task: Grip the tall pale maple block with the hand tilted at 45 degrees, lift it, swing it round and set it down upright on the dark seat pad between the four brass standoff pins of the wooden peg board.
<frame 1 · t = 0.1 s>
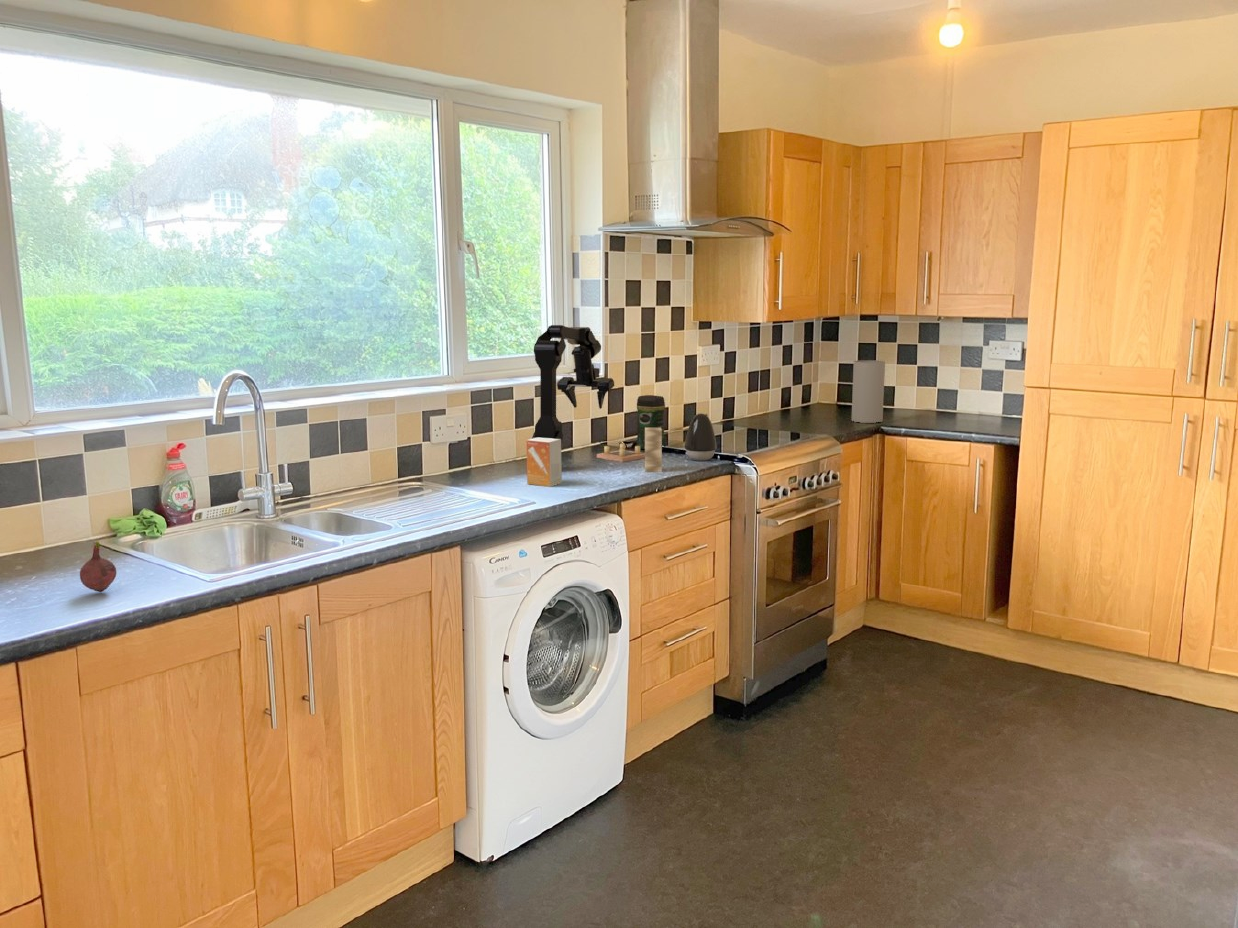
hand: (588, 407, 329), 15 cm above the countertop, tool pointing down, fingers open, 9 cm apart
maple block: (653, 470, 299), on the countertop
vegetable: (100, 594, 181), on the countertop
wooden peg board: (622, 457, 322), on the countertop
small box: (544, 484, 280), on the countertop
coffee jar: (650, 448, 341), on the countertop
cylinder vase: (866, 422, 403), on the countertop
dark egg shaped diffuser: (700, 460, 318), on the countertop
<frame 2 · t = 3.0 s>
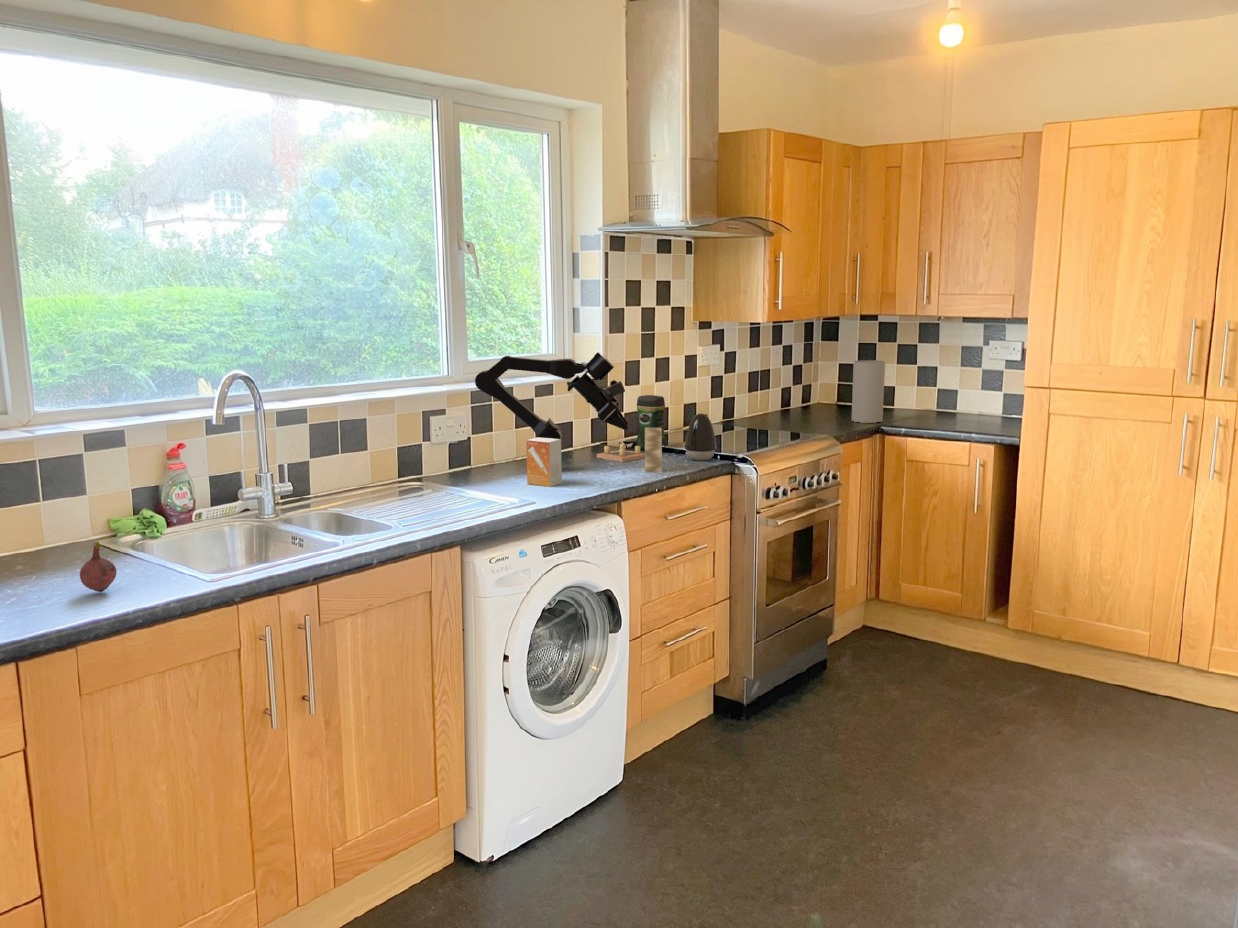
hand: (627, 427, 297), 14 cm above the countertop, tool tilted 45°, fingers open, 9 cm apart
nothing on the countertop moved.
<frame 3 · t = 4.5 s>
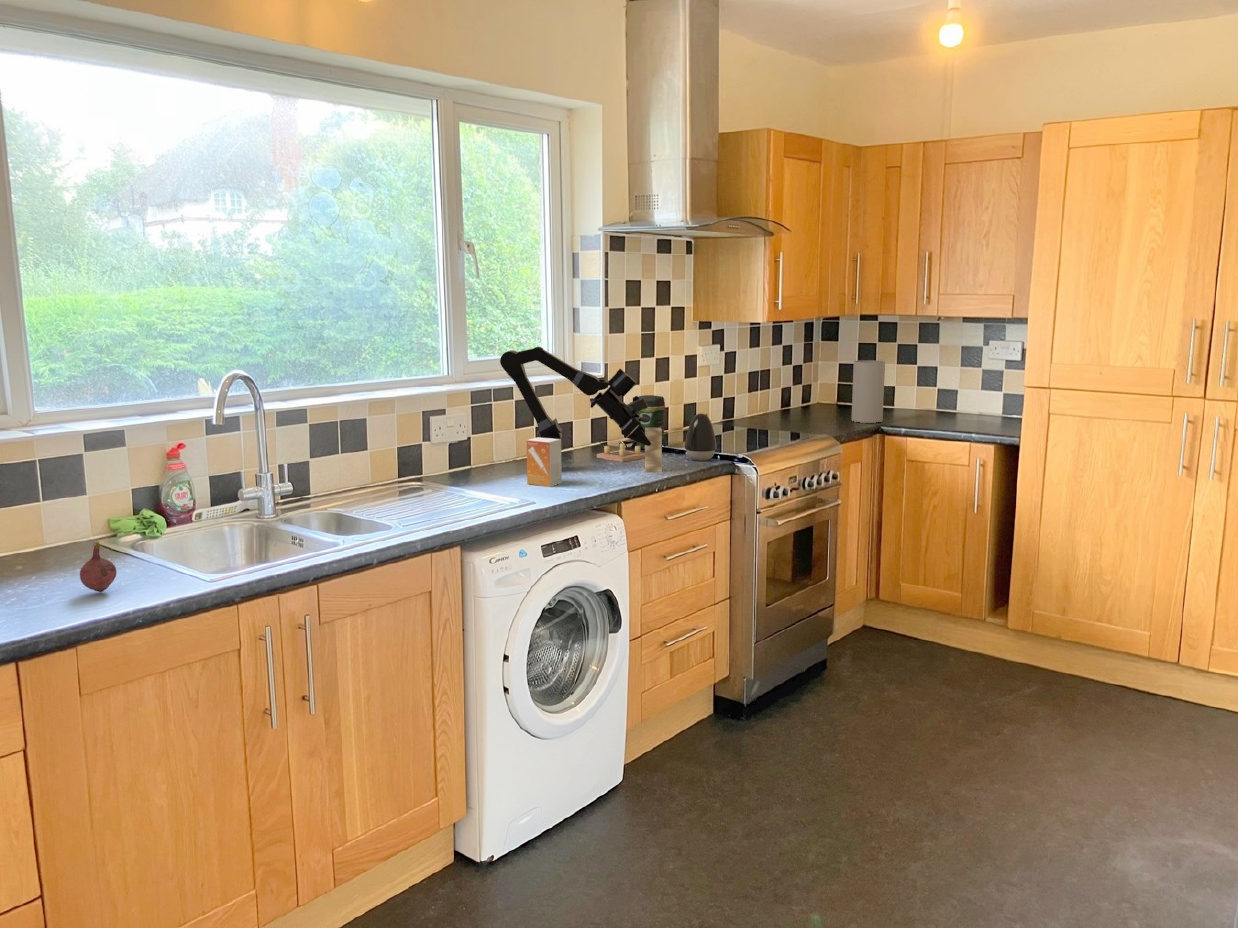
hand: (649, 442, 298), 9 cm above the countertop, tool tilted 45°, fingers open, 9 cm apart
nothing on the countertop moved.
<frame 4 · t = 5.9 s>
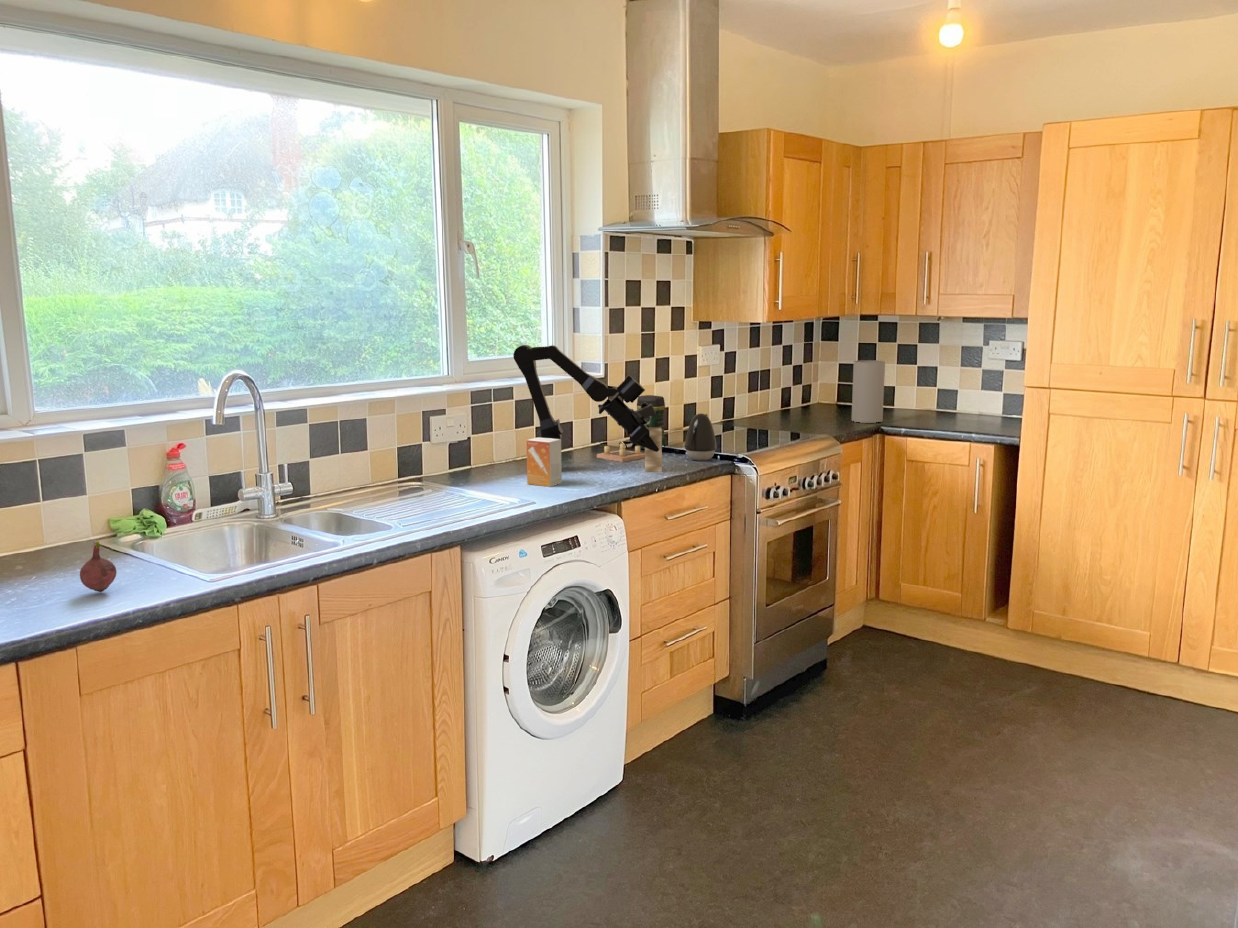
hand: (657, 449, 298), 7 cm above the countertop, tool tilted 45°, fingers closed on maple block, 5 cm apart
maple block: (653, 470, 299), on the countertop, touching gripper
everything else where it was.
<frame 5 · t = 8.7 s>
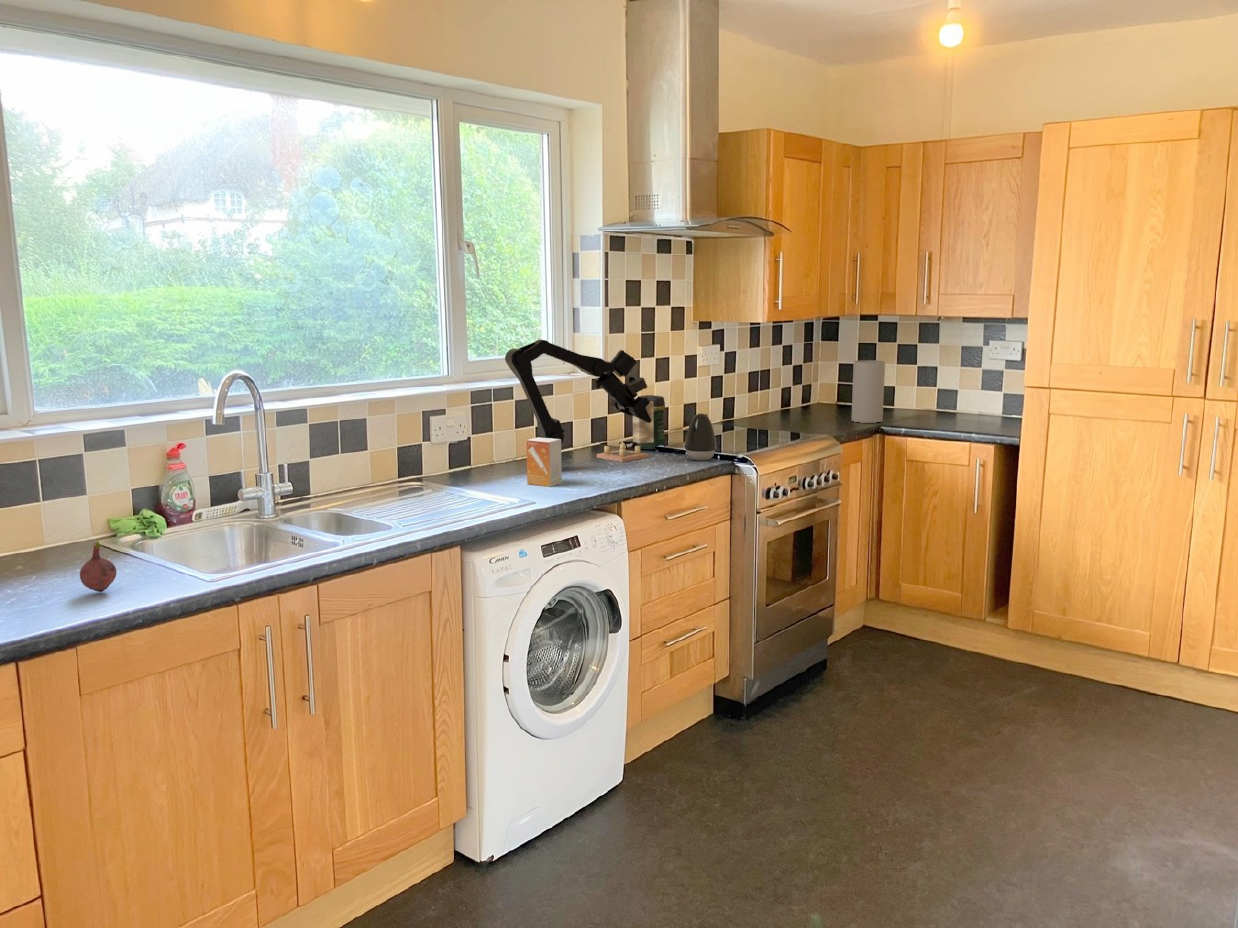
hand: (646, 420, 311), 13 cm above the countertop, tool tilted 45°, fingers closed on maple block, 5 cm apart
maple block: (643, 441, 311), point 7 cm above the countertop, touching gripper
everything else where it was.
when the fingers open (9 cm above the countertop, at t = 11.4 s): maple block drops 1 cm, resting on wooden peg board.
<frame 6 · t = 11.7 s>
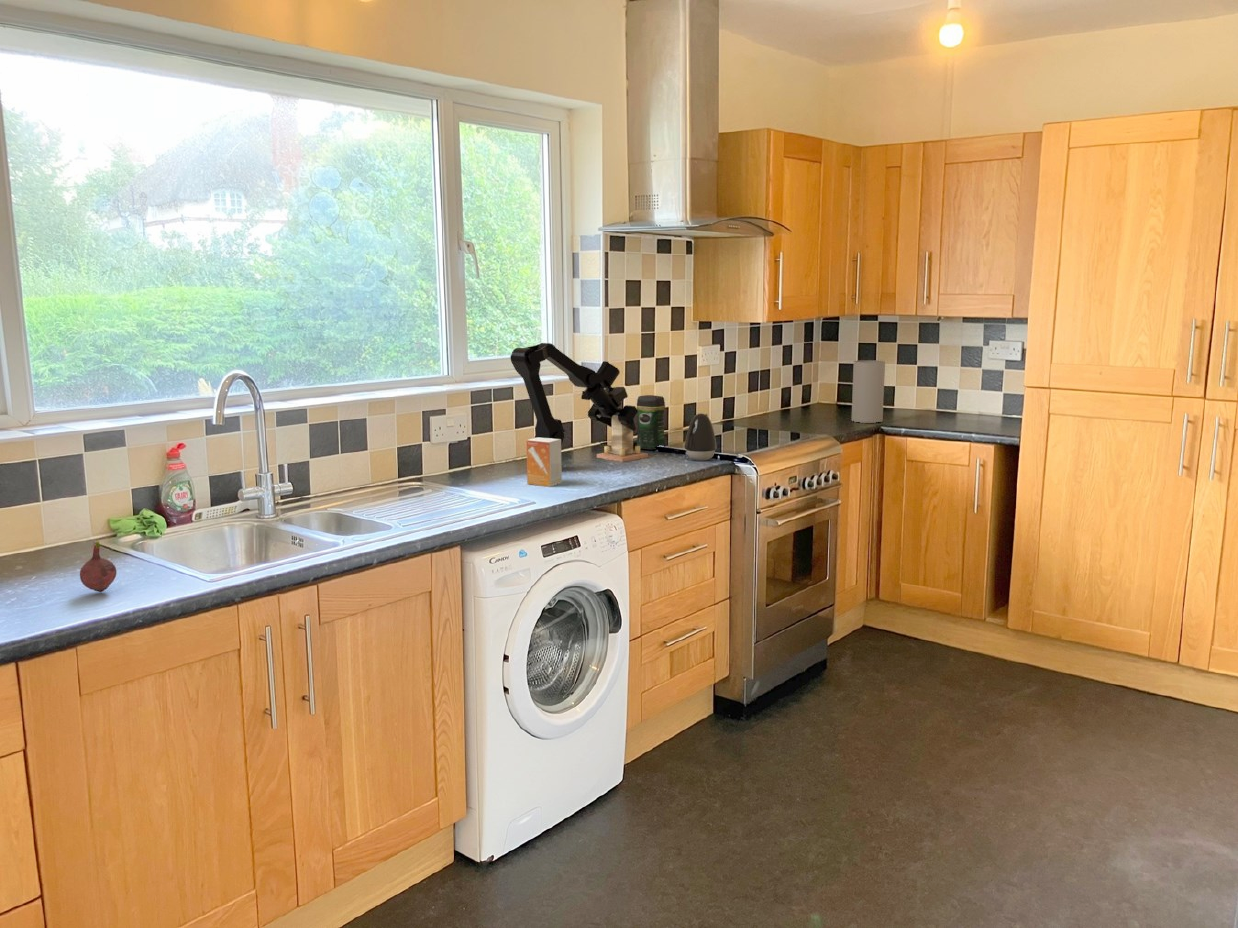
hand: (625, 428, 321), 9 cm above the countertop, tool tilted 45°, fingers open, 9 cm apart
maple block: (622, 453, 322), point 1 cm above the countertop, touching wooden peg board
everything else where it was.
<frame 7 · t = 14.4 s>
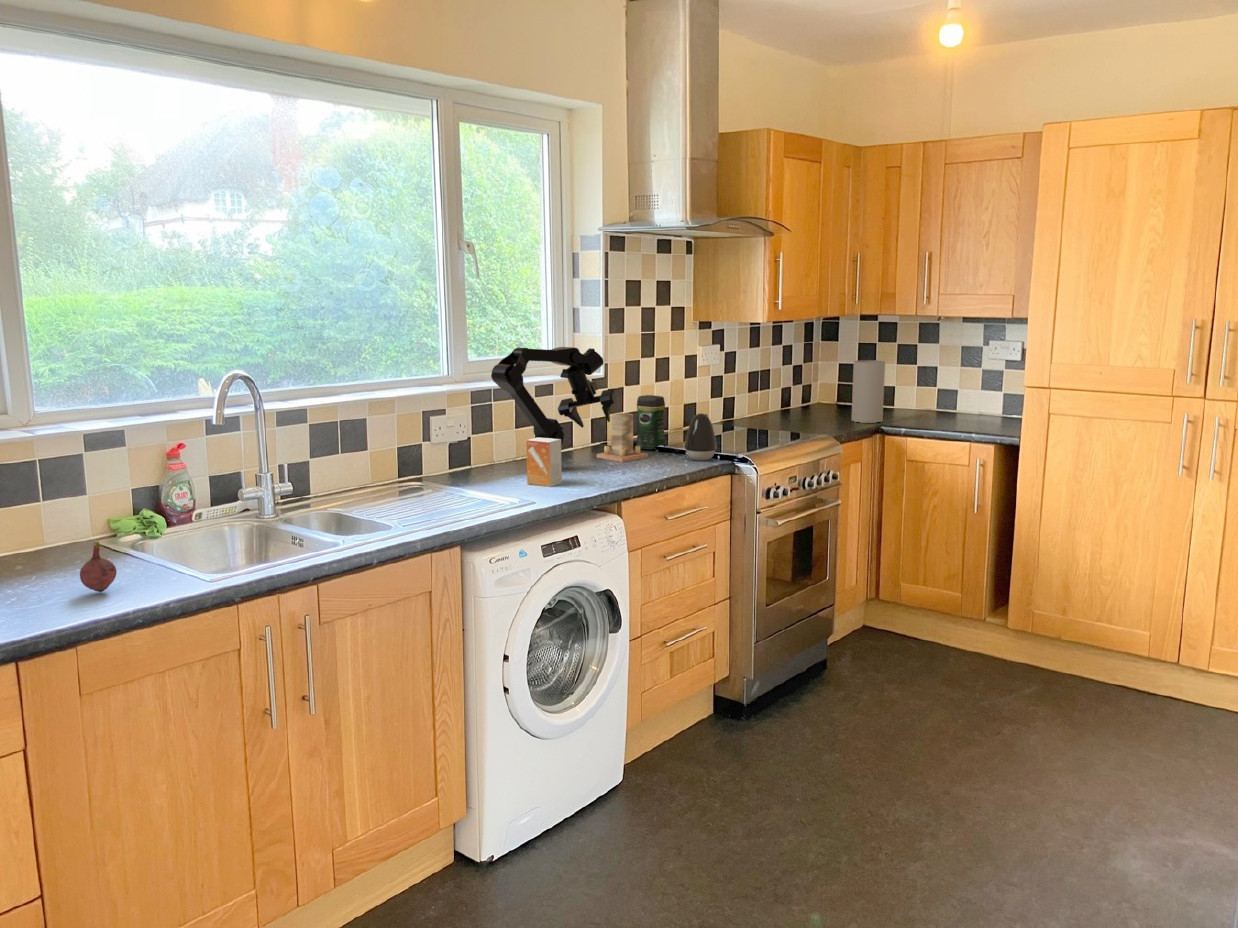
hand: (596, 424, 313), 12 cm above the countertop, tool tilted 30°, fingers open, 9 cm apart
nothing on the countertop moved.
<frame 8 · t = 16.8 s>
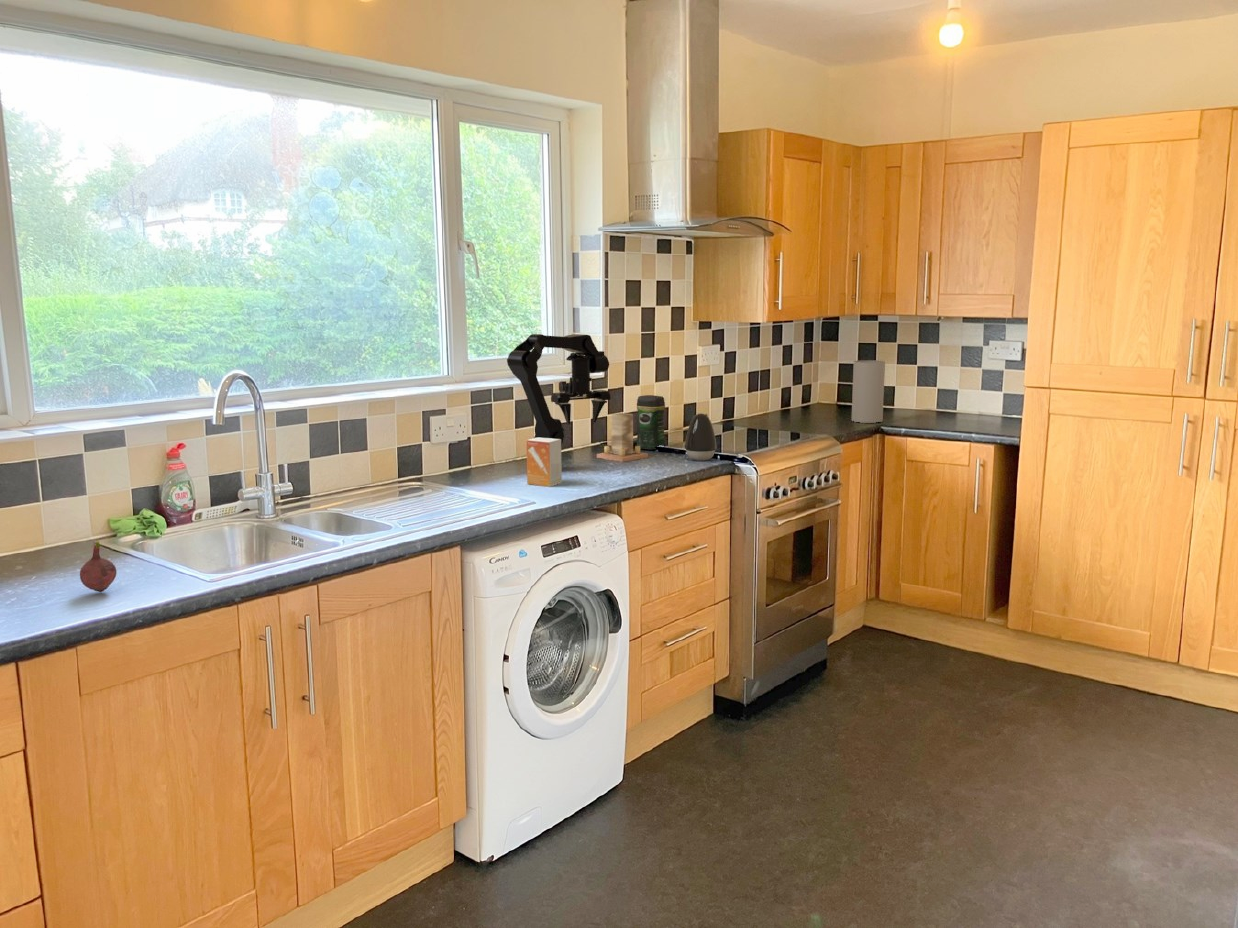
hand: (581, 423, 309), 13 cm above the countertop, tool pointing down, fingers open, 9 cm apart
nothing on the countertop moved.
at the end: maple block 0.0 cm off-centre on the wooden peg board, point 1.4 cm above the wooden peg board's base; maple block tilted 0°; the gripper is holding nothing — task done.
